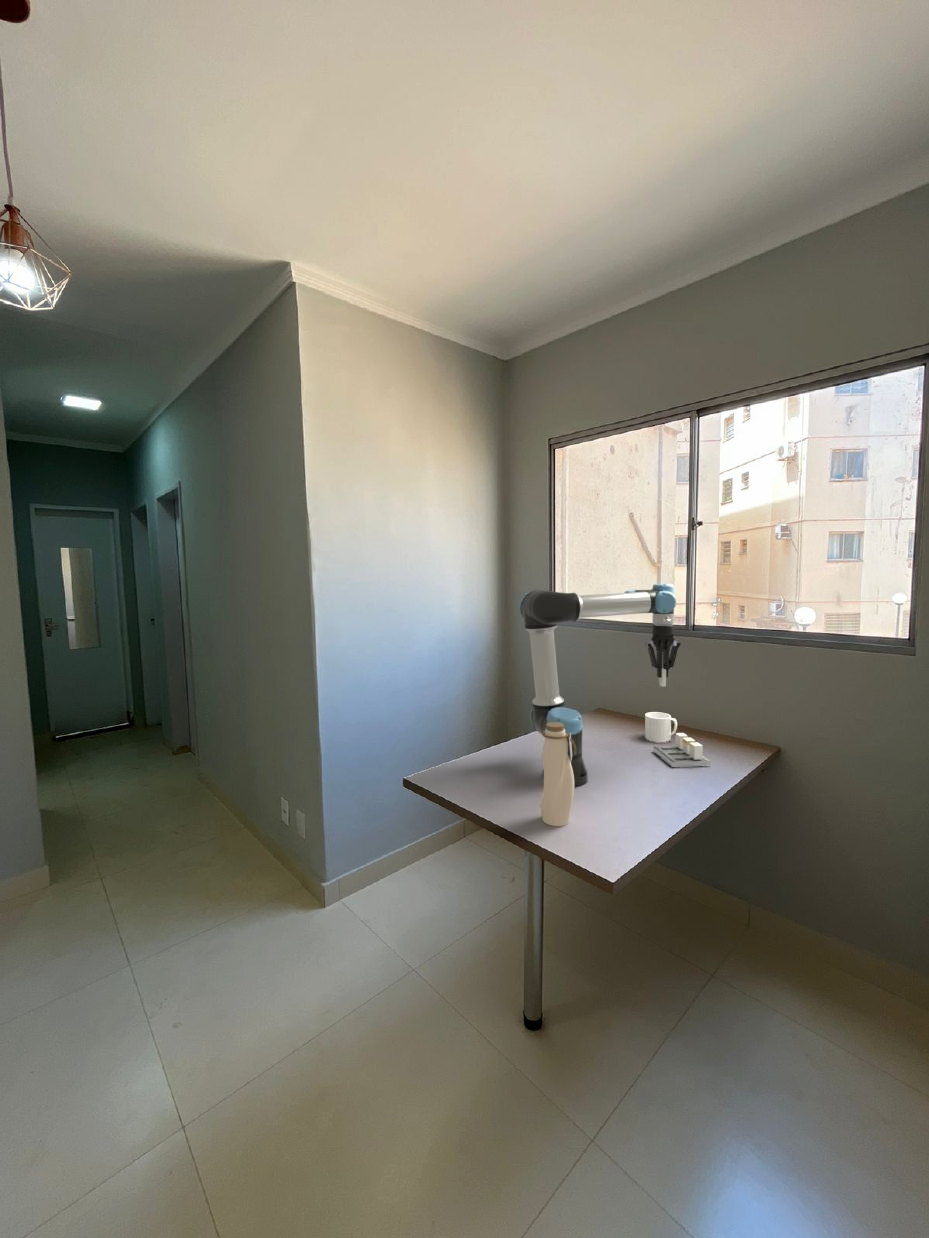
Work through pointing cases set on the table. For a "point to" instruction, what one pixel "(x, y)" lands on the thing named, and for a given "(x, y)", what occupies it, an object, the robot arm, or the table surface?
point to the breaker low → (696, 751)
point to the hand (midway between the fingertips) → (662, 685)
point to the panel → (678, 757)
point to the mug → (659, 726)
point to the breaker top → (679, 739)
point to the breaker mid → (687, 744)
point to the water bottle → (557, 775)
